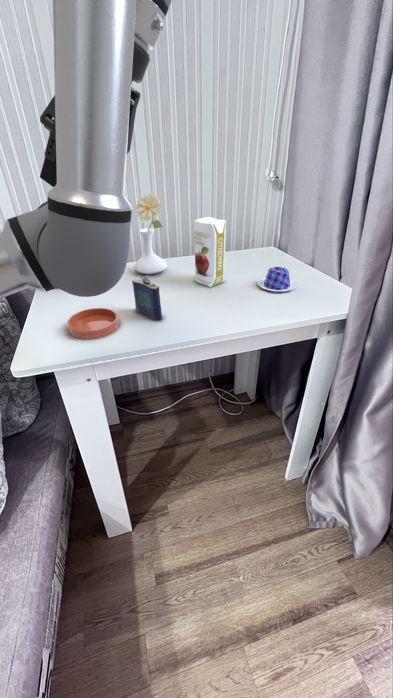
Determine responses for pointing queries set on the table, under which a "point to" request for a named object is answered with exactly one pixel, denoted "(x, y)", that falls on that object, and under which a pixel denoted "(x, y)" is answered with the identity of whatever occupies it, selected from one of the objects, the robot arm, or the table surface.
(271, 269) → the pudding
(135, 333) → the table surface
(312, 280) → the table surface
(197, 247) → the juice carton
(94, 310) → the terracotta plant saucer
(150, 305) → the flask
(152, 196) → the flower in vase
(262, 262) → the table surface
